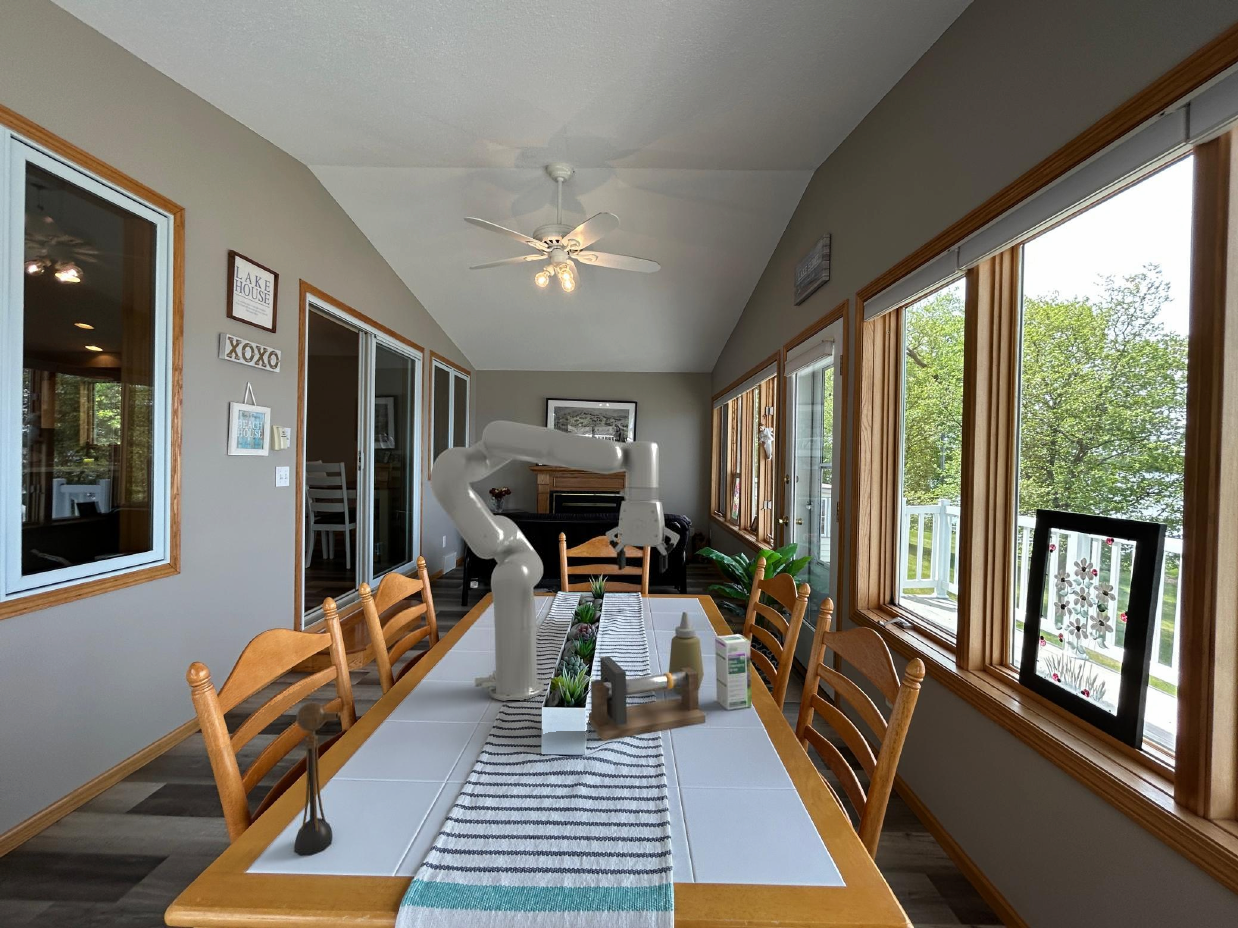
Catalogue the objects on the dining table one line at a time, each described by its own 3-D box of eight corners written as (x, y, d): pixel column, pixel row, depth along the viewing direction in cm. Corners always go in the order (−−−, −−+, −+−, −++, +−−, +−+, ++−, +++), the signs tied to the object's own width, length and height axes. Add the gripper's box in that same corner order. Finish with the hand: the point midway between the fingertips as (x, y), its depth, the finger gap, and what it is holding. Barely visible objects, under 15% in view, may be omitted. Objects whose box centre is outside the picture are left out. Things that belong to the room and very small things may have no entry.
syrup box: (727, 710, 127) (726, 642, 127) (715, 700, 132) (714, 634, 132) (751, 707, 128) (750, 639, 128) (739, 697, 134) (738, 632, 134)
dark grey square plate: (616, 725, 115) (616, 673, 115) (601, 705, 124) (600, 657, 124) (626, 723, 116) (625, 671, 116) (610, 704, 125) (609, 656, 125)
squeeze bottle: (663, 693, 137) (662, 614, 137) (676, 681, 144) (675, 606, 144) (696, 699, 133) (695, 618, 133) (708, 686, 140) (707, 610, 140)
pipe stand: (602, 740, 114) (601, 693, 114) (587, 719, 123) (586, 675, 123) (705, 722, 121) (704, 677, 121) (684, 703, 131) (683, 662, 131)
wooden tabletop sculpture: (345, 833, 87) (343, 695, 87) (331, 854, 82) (328, 708, 82) (304, 834, 86) (301, 696, 86) (287, 855, 82) (284, 709, 82)
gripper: (600, 495, 136) (600, 570, 136) (675, 497, 130) (674, 575, 130) (612, 493, 143) (612, 565, 143) (683, 495, 137) (682, 570, 137)
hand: (641, 570), depth 136 cm, fingers open, 9 cm apart
